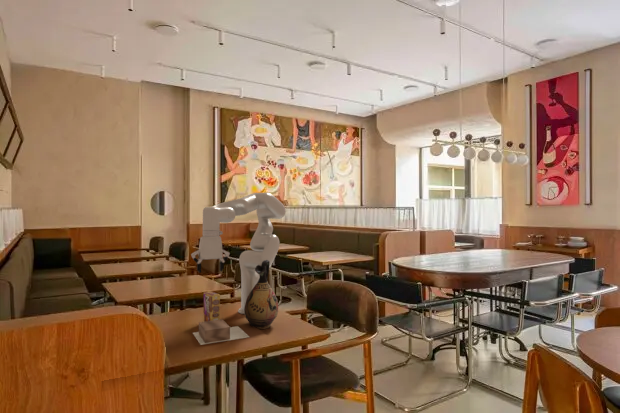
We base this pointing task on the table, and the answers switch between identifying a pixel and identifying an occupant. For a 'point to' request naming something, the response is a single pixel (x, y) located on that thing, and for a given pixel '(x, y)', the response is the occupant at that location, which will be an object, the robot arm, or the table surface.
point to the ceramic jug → (261, 300)
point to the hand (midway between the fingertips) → (210, 271)
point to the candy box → (211, 306)
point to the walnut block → (214, 330)
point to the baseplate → (234, 334)
